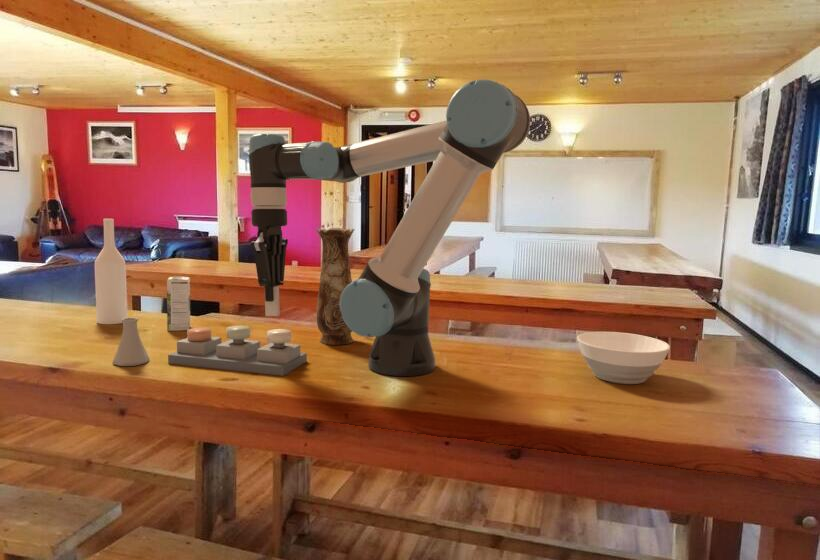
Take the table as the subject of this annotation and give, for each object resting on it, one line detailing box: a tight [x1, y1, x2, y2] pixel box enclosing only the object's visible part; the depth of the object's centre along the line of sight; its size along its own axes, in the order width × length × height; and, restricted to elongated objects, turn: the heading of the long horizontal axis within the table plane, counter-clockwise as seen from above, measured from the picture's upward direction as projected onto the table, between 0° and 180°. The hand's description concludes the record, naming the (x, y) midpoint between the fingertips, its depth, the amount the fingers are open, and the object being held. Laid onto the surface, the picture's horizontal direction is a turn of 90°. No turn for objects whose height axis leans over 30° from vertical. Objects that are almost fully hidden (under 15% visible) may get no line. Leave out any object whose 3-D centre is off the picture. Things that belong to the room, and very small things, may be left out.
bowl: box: [576, 331, 671, 385], centre depth 131 cm, size 19×20×8 cm
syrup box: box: [166, 276, 191, 332], centre depth 165 cm, size 6×6×14 cm
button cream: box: [266, 328, 292, 350], centre depth 131 cm, size 5×5×4 cm
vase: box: [315, 227, 355, 346], centre depth 155 cm, size 10×11×30 cm
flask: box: [112, 317, 151, 367], centre depth 131 cm, size 7×7×10 cm
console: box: [167, 336, 308, 377], centre depth 134 cm, size 28×12×4 cm, turn 76°
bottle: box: [94, 218, 129, 325], centre depth 171 cm, size 8×8×30 cm
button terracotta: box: [186, 327, 212, 342], centre depth 136 cm, size 5×5×4 cm
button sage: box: [225, 325, 251, 346], centre depth 134 cm, size 5×5×4 cm
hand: (272, 315), depth 131 cm, fingers closed
